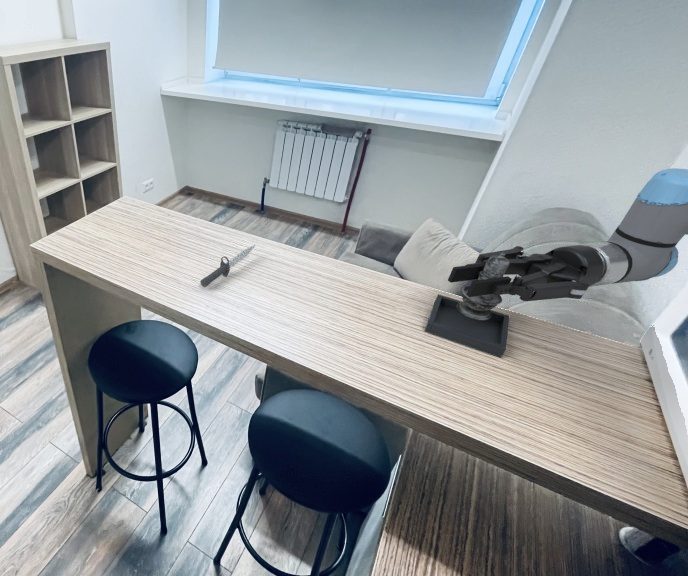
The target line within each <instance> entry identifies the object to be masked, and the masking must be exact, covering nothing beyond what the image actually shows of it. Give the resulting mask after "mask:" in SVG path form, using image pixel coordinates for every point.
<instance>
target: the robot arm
mask: <svg viewBox="0 0 688 576" xmlns="http://www.w3.org/2000/svg"><path fill="white" fill-rule="evenodd" d="M686 235H687V236H688V168H674V167H673V168H666V169H661V170H659V171H657V172H656V173H654V174H653V175H652V176H651V178H650V179H649V180H648V181H647V182H646V184H645V185H644V186H643V188H642V189H641V190H640V192H638V194H637V195H636V198H635V199H634V201H633V202H632V204H631V205H630V207H629V209H628V211H627V212H626V214H625V215H624V217H623V219H622V220H621V221H620V223H619V224H618V226H617V227H616V229H615V230H614V231H613V232H612V234H611V235H610V237H609V239H607V240H605V241H599V242H590V243H580V244H575V245H566V246H559V247H556V248H554V249H552V250H549V251H548V252H546V253H532V254H530V253H527V252H525V251H524V247H523V246H521V245H516V246H514V247H512V248H510V249H503V250H498V251H491V252H486V253H479V254H478V256H477V258H476V260H475V262H473V263H466V264H465V265H459V266H453V267H452V270H451V271H450V274H449V276H448V278H447V281H448V282H449V283H459V282H467V281H471V284H469V285H470V288H469V290H468V292H467V294H466V295H467V296H469V297H474V296H482V295H489V294H494V295H500V296H501V295H502V296H503V295H510V296H518V297H519V300H521V301H523V302H535V301H547V300H557V299H558V300H559V299H575V300H580V299H582V298H583V297H584V295H585V293H586V292H587V291H588V289H589V288H591V287H598V286H606V285H614V284H621V283H622V284H623V283H629V282H642V281H647V280H648V281H649V280H650V279H654V278H659V277H661V276H664V275H666V274H668V273H670V272H671V271H672V270H674V269H675V267H676V266H677V265H678V261H679V249H678V248H677V245H678V244H679V243H680V241H681V240H682V239H683V238H684V236H686ZM502 252H504V253H505V255H504V257H505V258H507V259H508V260H509V266H508V268H507V270H506V272H505V274H504V275H503V277H499V278H491V279H484V280H478V278H479V272H480V271H482V270H483V269H484V267H485V265H486V263H487V261H488V259H489V258H490V257H492V256H496V255H500V253H502ZM509 275H511V276H512V275H515V276H514V278H513V279H512V278H511V277H510V276H509Z"/></svg>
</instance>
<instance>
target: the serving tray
mask: <svg viewBox="0 0 688 576" xmlns="http://www.w3.org/2000/svg"><path fill="white" fill-rule="evenodd" d="M462 301H463V300H459V299H455V298H452V297H449V296H445V295H442V294H437V295H436V298H435V300H434V303H433V305H432V308H431V311H430V314H429V317H428V319H427V322H426V325H425V329H424V332H425V333H427V334H430V335H434V336H436V337H439V338H441V339H445V340H448V341H451V342H454V343H457V344H459V345H463V346H465V347H469V348H471V349H474V350H476V351H479V352H483V353H486V354H489V355H492V356H495V357H498V358H502V356H503V355H504V353H505V351H506V350H507V345H508V333H509V327H510V325H509V324H510V315H509V314H506V313H502V312H500V311H496V310H493V309H492V310H489V311H490V312H491V314H492V315H491V318H490V319H487V320H476V319H472V318H469V317H467V316H465V315H463V314H462V313H460V312H459V311H458V309H457V304H458V303H459V302H462Z"/></svg>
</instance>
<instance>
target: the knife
mask: <svg viewBox="0 0 688 576" xmlns="http://www.w3.org/2000/svg"><path fill="white" fill-rule="evenodd" d="M255 247H256V244H253V245H251V246H249V247H247V248H245V249H243V250H241V251H240V252H238V254H236V255H235V256H233V257H232V258H231V259H229V258H228V257H227V256H222V257H221V258H220V263H219V267H217V269H215V270H214V271H212V272H211V273H210V274H208V275H207V276H204V277H203V278H202V279H201V280H200V282H199V283H200V285H201V286H202V287H203V288H206V287H208V286H209V285H210V284H212V282H214V281H215V280H216V279H218V278H219V277H221V276H223V277H225V278H227V277H228V275H229V273H230V270H231V268H232V267H233V266H234V265H236V264H237V263H238V262H240V261H241V260H243V259H244V258H245V257H247V256H248V255H249V254H250V253H251V252H252V250H253V249H254V248H255ZM223 259H226V262H224V260H223Z"/></svg>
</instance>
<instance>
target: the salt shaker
mask: <svg viewBox="0 0 688 576" xmlns="http://www.w3.org/2000/svg"><path fill="white" fill-rule="evenodd" d="M504 255H505V253H504V252H502V253H500V255H496V256H492V257H490V258H489V259H488V261H487V263H486V265H485V267H484V269H483V270H482V271H480V272H479V278H478V279H477V280H484V279H491V278H499V277H504V276H505V275H504V274H505V272H506V270H507V268H508V266H509V260H508V259H507V258H505V257H504ZM470 285H471V284H469V285H468V284H467V285H465V286H463V287H462V289H461V292H462V293H461V297H462V298H461V299H462V300H461V301H462V302H459V303H458V304H457V309H458V311H459V312H460V313H462V314H463V315H465V316H467V317H469V318H472V319H476V320H487V319H490V318H491V315H492V314H491V312H490V311H489V310H492V311H493V309H495V308H496V307H497V306H498V305H501V303H503V297H502V296H501V295H494V294H489V295H482V296H474V297H469V296H467V295H466V294H467V292H468V290H469V288H470Z"/></svg>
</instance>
